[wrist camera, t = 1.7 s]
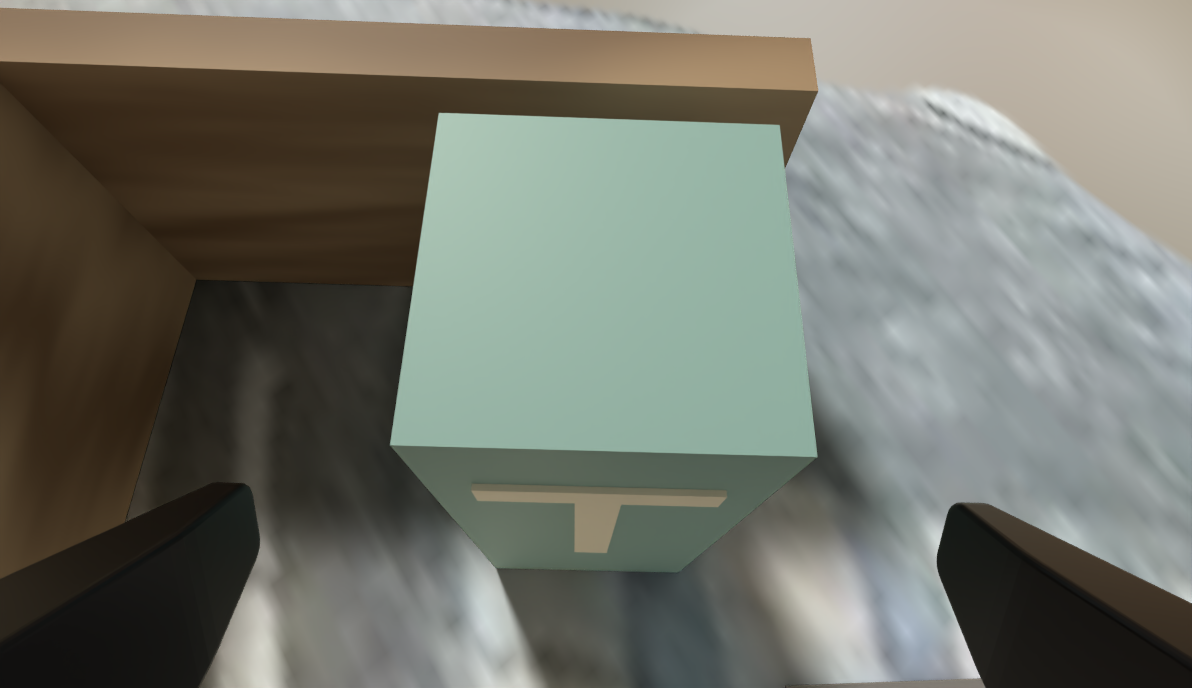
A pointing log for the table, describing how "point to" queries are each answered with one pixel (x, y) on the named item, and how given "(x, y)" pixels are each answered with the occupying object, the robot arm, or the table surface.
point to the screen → (256, 192)
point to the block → (603, 338)
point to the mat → (904, 684)
